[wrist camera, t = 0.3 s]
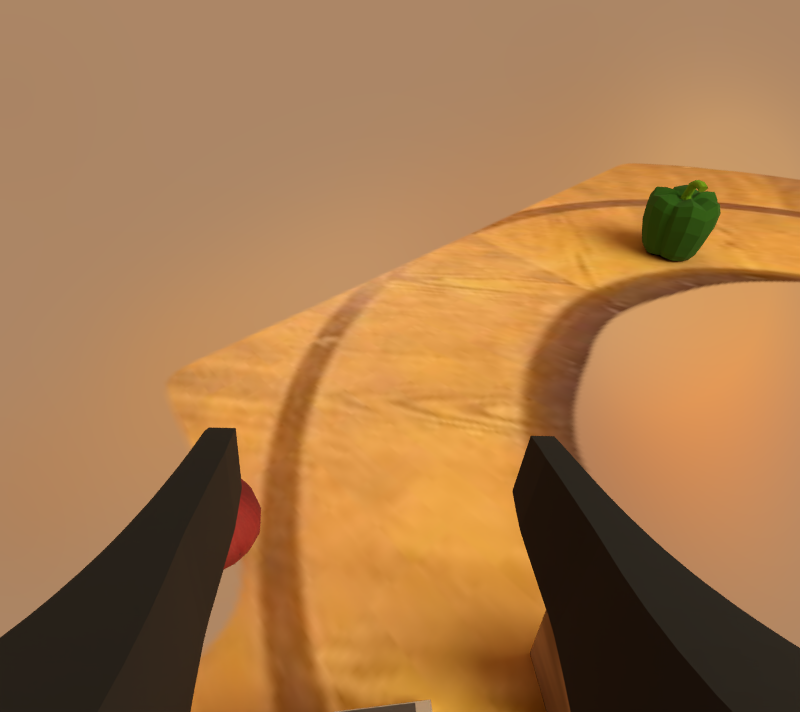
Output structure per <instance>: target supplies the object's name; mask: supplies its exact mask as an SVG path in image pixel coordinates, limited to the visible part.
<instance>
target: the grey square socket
mask: <svg viewBox="0 0 800 712" xmlns="http://www.w3.org/2000/svg"><path fill="white" fill-rule="evenodd" d="M336 712H432V706H431V700H424V701H416V702H408V703H400V704H392V705H384V706H376V707H368V708H360V709H352V710H344V711H336Z"/></svg>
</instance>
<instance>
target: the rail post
mask: <svg viewBox="0 0 800 712" xmlns="http://www.w3.org/2000/svg"><path fill="white" fill-rule="evenodd" d="M530 655H531V659H532V662H533V666H534V669H535V673H536V676H537V679H538V683H539V686H540V690H541V693H542V697H543V700H544V704H545V707H546V711H547V712H570V707H569V702H568V697H567V692H566V687H565V682H564V678H563V673H562V669H561V664H560V660H559V655H558V651H557V647H556V642H555V638H554V634H553V630H552V627H551V623H550V620H549V616H548V613H547V610H546V612H545V614H544V617H543V620H542V622H541V625H540V628H539V630H538V633H537V636H536V638H535V641H534V644H533V646H532V649H531V652H530Z"/></svg>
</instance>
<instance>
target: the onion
mask: <svg viewBox="0 0 800 712" xmlns="http://www.w3.org/2000/svg"><path fill="white" fill-rule="evenodd" d="M241 483H242V490H241V496H240V503H239V509H238V515H237V520H236V526H235V530H234V534H233V538H232V541H231V545H230V548H229V552H228V555H227V559H226V562H225V566H224V569H225V568H227V567H229V566H231V565H233V564H235V563H236V562H237V561H238V560H239V559H241V558H242V557H243V556H244V555H245V554H246V553H247V552H248V551H249V550H250V548H251V547H252V545H253V543H254V542H255V540H256V538H257V536H258V535H259V532H260V518H261V507H260V505H259V503H258V501H257V499H256V497H255V495H254V493H253V491H252V488H251V487H250V486H249V485H248V484H247V483H246V482H245V481H243V480H242V479H241ZM224 569H223V570H224Z"/></svg>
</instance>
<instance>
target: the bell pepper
mask: <svg viewBox="0 0 800 712" xmlns="http://www.w3.org/2000/svg"><path fill="white" fill-rule="evenodd" d="M696 188H697V189H698V191H697V190H696ZM707 188H708V187H707V185H706V184H705V182H702V181H700V180H695V181H693V182H691V183H689V185H683V186H678V187H674V188H673V189H671V188H668V187H656V188H655V190H654V191H653V192H652V193H651V194H650V197H649V200H648V202H647V205H646V209H645V212H644V216H643V224H642V243H643V245H644V248H645V249H646V251H647V252H649V253H652V254H657V255H661V256H662V257H664V258H666V259H669V260H672V261H684V260H688V259H690V258H691V257H693V256H694V255H695V254H696V253H697V251H698V250H699V249H700V247H701V246H702V245H703V243H704V242H705V240H706V239H707V237H708V236H709V234H710V233H711V232H712V230H713V229H714V227H715V225H716V222H717V220H718V218H719V216H720V204H719V203H717V198H716V195H715V192H708V191H707V192H704V191H705V190H707Z"/></svg>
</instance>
